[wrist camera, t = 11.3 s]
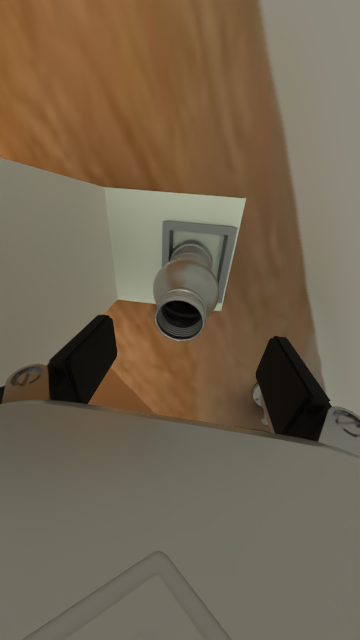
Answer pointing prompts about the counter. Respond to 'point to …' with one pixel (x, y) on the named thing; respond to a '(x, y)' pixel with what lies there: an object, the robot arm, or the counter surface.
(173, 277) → the grey tall bottle shape
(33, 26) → the counter surface
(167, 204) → the socket stand
